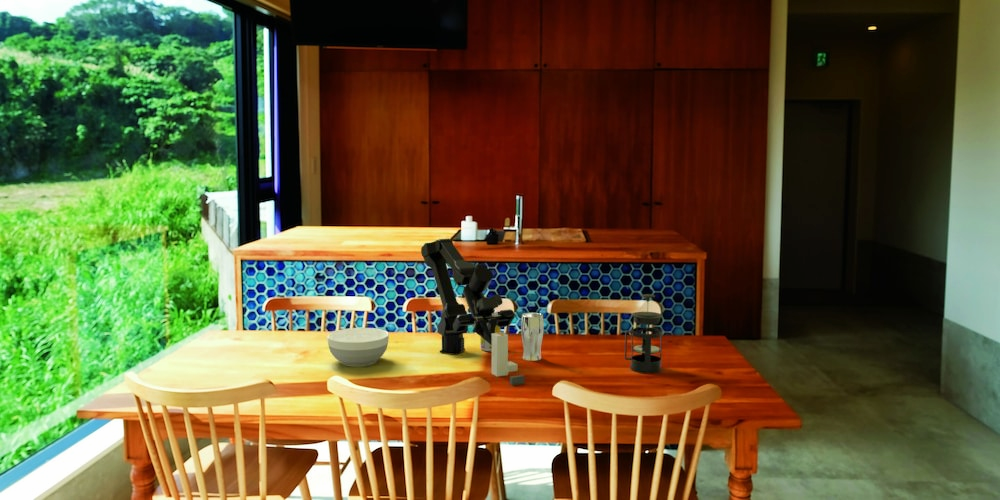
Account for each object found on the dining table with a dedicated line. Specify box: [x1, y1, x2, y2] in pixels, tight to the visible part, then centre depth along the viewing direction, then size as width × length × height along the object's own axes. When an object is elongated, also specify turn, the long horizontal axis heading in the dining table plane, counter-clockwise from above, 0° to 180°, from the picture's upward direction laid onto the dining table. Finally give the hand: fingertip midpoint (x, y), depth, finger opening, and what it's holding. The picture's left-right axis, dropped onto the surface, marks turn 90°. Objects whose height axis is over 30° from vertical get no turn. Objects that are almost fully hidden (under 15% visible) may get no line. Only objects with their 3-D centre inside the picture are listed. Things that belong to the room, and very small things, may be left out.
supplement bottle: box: [480, 309, 502, 352], centre depth 275 cm, size 7×7×13 cm
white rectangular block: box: [491, 331, 509, 377], centre depth 242 cm, size 4×4×12 cm
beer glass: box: [520, 312, 544, 362], centre depth 260 cm, size 7×7×15 cm
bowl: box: [326, 327, 390, 368], centre depth 259 cm, size 19×19×9 cm
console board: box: [508, 360, 525, 387], centre depth 241 cm, size 20×14×3 cm
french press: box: [624, 293, 663, 374], centre depth 252 cm, size 12×9×23 cm
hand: (493, 344), depth 246 cm, fingers closed
